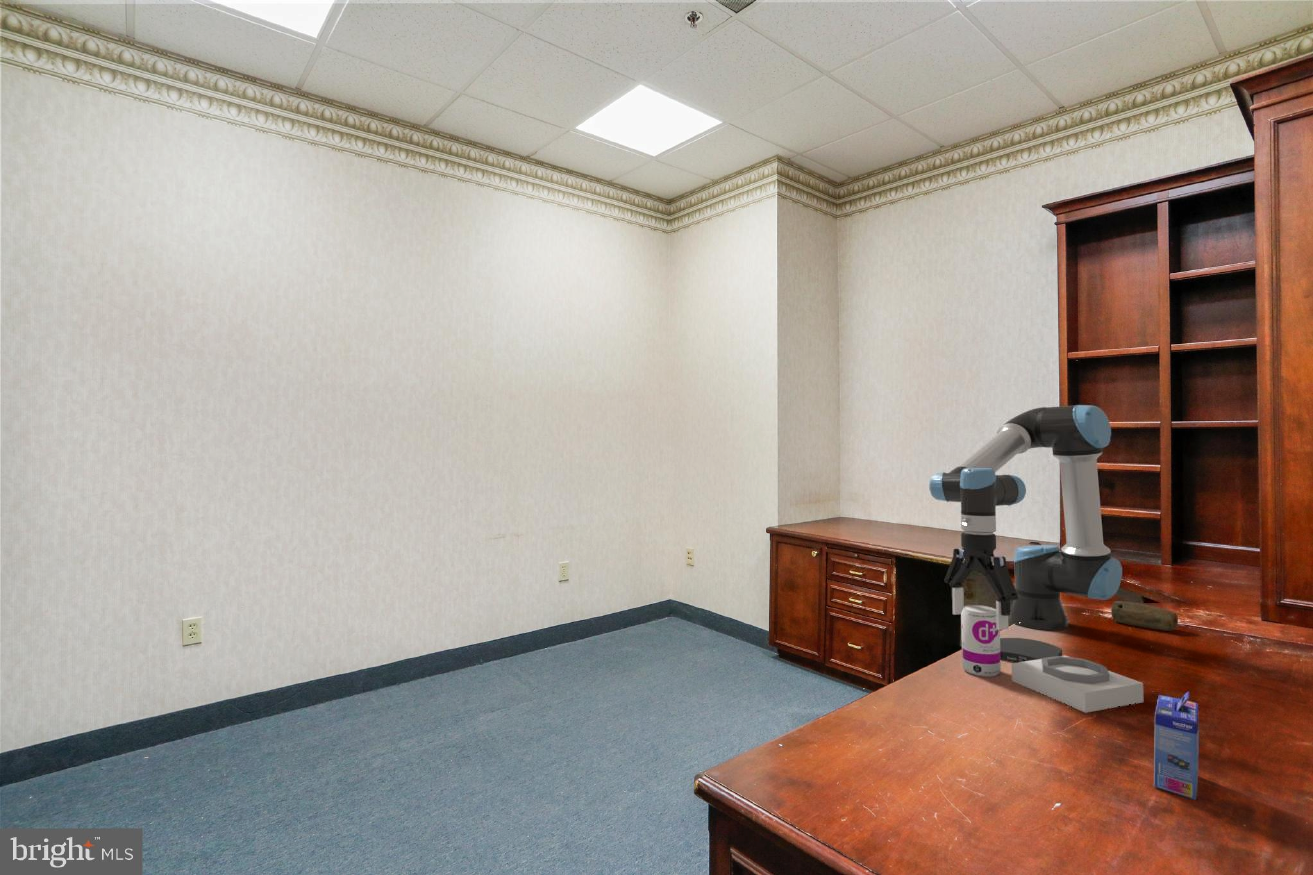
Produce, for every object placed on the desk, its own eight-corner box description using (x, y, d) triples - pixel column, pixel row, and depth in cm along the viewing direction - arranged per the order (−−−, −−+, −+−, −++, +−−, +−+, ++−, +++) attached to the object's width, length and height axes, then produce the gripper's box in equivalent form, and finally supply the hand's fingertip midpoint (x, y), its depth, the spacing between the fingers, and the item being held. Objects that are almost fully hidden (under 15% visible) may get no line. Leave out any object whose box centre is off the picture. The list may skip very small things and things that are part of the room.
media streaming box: (1065, 656, 161) (1065, 644, 161) (1052, 671, 151) (1052, 659, 151) (1002, 644, 171) (1002, 633, 171) (986, 658, 161) (986, 646, 161)
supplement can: (1005, 678, 146) (1004, 614, 146) (967, 676, 148) (966, 612, 148) (994, 666, 154) (993, 605, 154) (958, 664, 156) (956, 603, 156)
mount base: (1011, 680, 145) (1011, 656, 145) (1065, 672, 149) (1065, 649, 149) (1085, 712, 127) (1084, 685, 128) (1143, 702, 132) (1142, 675, 132)
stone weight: (1110, 624, 187) (1109, 601, 187) (1115, 619, 191) (1115, 597, 191) (1174, 635, 176) (1174, 611, 176) (1179, 630, 180) (1178, 606, 180)
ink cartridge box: (1199, 802, 96) (1197, 706, 96) (1153, 789, 100) (1151, 697, 100) (1200, 775, 104) (1198, 687, 104) (1157, 764, 107) (1155, 679, 107)
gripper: (928, 526, 162) (929, 609, 162) (1008, 540, 138) (1009, 637, 138) (952, 525, 164) (953, 607, 164) (1035, 538, 140) (1036, 634, 140)
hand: (979, 621), depth 151 cm, fingers open, 13 cm apart
